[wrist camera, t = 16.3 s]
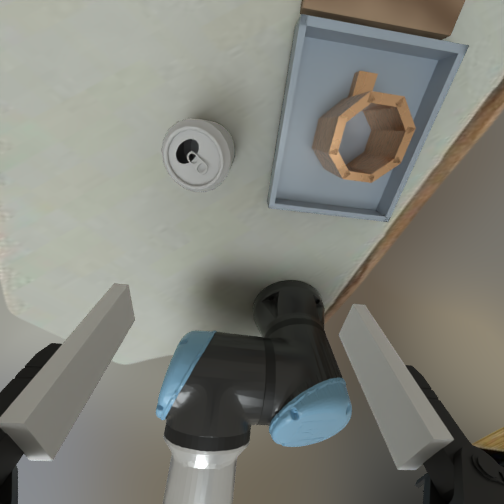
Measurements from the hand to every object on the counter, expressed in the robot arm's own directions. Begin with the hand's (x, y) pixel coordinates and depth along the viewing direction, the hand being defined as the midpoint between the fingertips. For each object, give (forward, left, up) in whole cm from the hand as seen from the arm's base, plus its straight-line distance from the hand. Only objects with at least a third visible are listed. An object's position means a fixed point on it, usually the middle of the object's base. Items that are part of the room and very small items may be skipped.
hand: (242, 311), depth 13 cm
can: (+6, +6, -27) cm, 28 cm away
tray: (+10, -14, -27) cm, 32 cm away
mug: (+11, -13, -26) cm, 32 cm away
